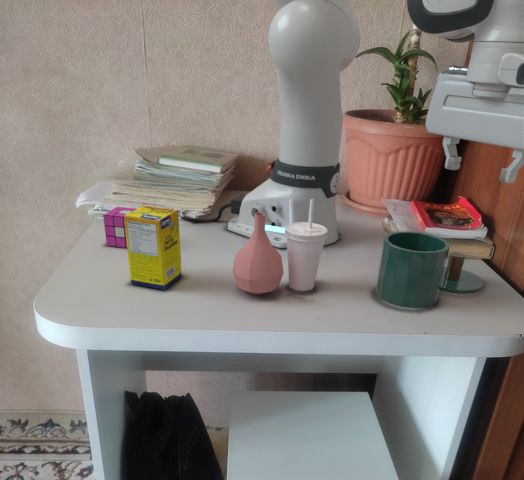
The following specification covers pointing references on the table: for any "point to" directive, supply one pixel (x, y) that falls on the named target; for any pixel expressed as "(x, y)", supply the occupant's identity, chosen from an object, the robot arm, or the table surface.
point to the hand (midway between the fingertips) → (477, 175)
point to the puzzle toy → (116, 226)
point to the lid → (459, 276)
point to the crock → (411, 269)
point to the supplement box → (153, 246)
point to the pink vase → (258, 262)
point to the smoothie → (304, 251)
